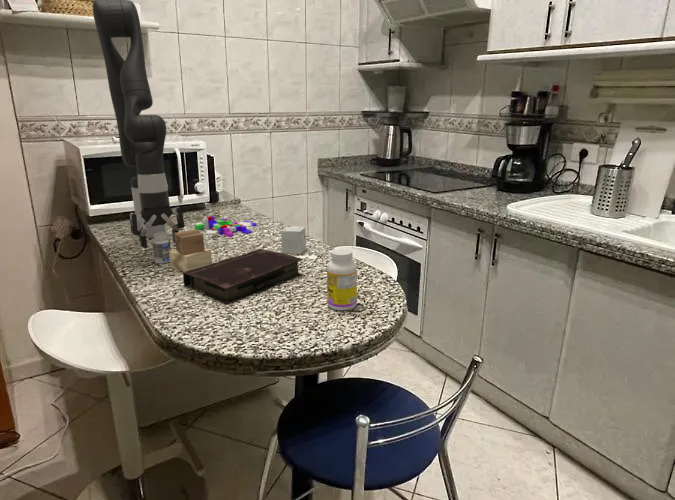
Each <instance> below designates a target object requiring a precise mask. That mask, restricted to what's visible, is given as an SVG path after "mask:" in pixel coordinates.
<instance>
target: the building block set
mask: <svg viewBox="0 0 675 500" xmlns="http://www.w3.org/2000/svg"><path fill="white" fill-rule="evenodd" d="M249 226H255V227H257V226H258V225H257V223H256V222H253V221H250V220H249V221H248V220H243V221H240V222H238V221H233V222H232V220H231V219H230V218H228V219H227V218H222V219H219V220H215V217H214V216H213V215H210V216H205V217H203V219H201V222H196V223H194V230H197V231H201V229H203V230H207V229H208V230H207V231H205V235H207V236H210V235H211V236H212V235H213V236H215V235H217V234H218V235H220V236H225V237H228V238H233V236H234V237H235V235H234V232H235V233H238V231H239V232H241V234H245V235H248V233H249V234H253V230H251V227H249ZM209 229H210V230H209ZM248 229H250V230H248Z"/></svg>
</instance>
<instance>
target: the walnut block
mask: <svg viewBox="0 0 675 500" xmlns="http://www.w3.org/2000/svg"><path fill="white" fill-rule="evenodd" d="M174 235H175V243H176V244H175V243H174V244H175V250H177V251H178V252H179V253H180V254H182V255H183V256H184V255H189V254H194V253H199V252H205V249H204V248H205V241H204V234H203V233H202V232H201V231H200V230H195V229H191V230H184V231H179V232H177V233H174Z"/></svg>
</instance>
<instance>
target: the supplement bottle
mask: <svg viewBox="0 0 675 500" xmlns="http://www.w3.org/2000/svg"><path fill="white" fill-rule="evenodd" d="M330 257H331V260H330V261H329V262H328V263H327V265H326V294H327V295H326V297H327V298H326V301H327V302H326V303H327V305H328V307H329V308H330V309H331V310H334V311H341V312H342V311H349V310H353V309H354V308H355V307H356V305H357V300H358V294H357V293H358V292H357V291H358V288H357V287H358V284H357V283H358V277H357V276H358V273H357V272H358V266H357V264H356V262H355V261H354V260H352V258H353V250H352V249H349V248H342V247H341V248H335V249H332V250H331V252H330Z"/></svg>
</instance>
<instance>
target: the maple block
mask: <svg viewBox="0 0 675 500" xmlns="http://www.w3.org/2000/svg"><path fill="white" fill-rule="evenodd" d="M204 249H205V252H199V253H194V254H189V255H184V256H183V255H182V254H180V253H179V252H178V251H177V250H176V249H172V250H171V251H169V255H170V262H169V263H170V268H171V269H174V270H177V271H180V272H182V273H183V272H185V271H189V270H193V269H196V268H200V267H204V266H207V265H210V264H213V259H212V257H213V256H212V249H210V248H207V247H204Z"/></svg>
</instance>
